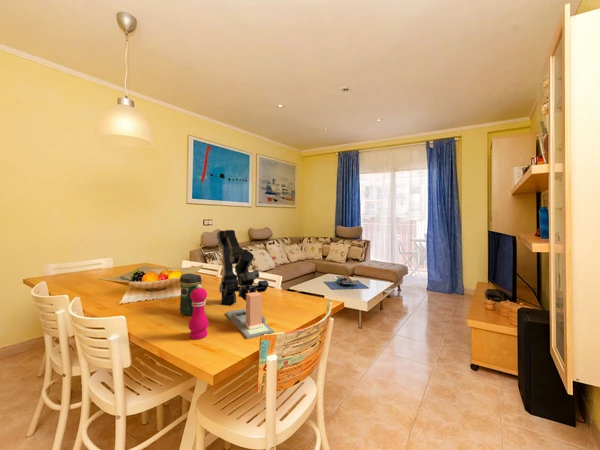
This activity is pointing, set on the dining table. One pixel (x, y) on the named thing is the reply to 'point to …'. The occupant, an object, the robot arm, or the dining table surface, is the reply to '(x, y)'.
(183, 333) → the dining table surface
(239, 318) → the track
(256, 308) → the salmon pink tall box
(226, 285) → the robot arm
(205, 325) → the pepper mill
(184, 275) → the coffee jar
